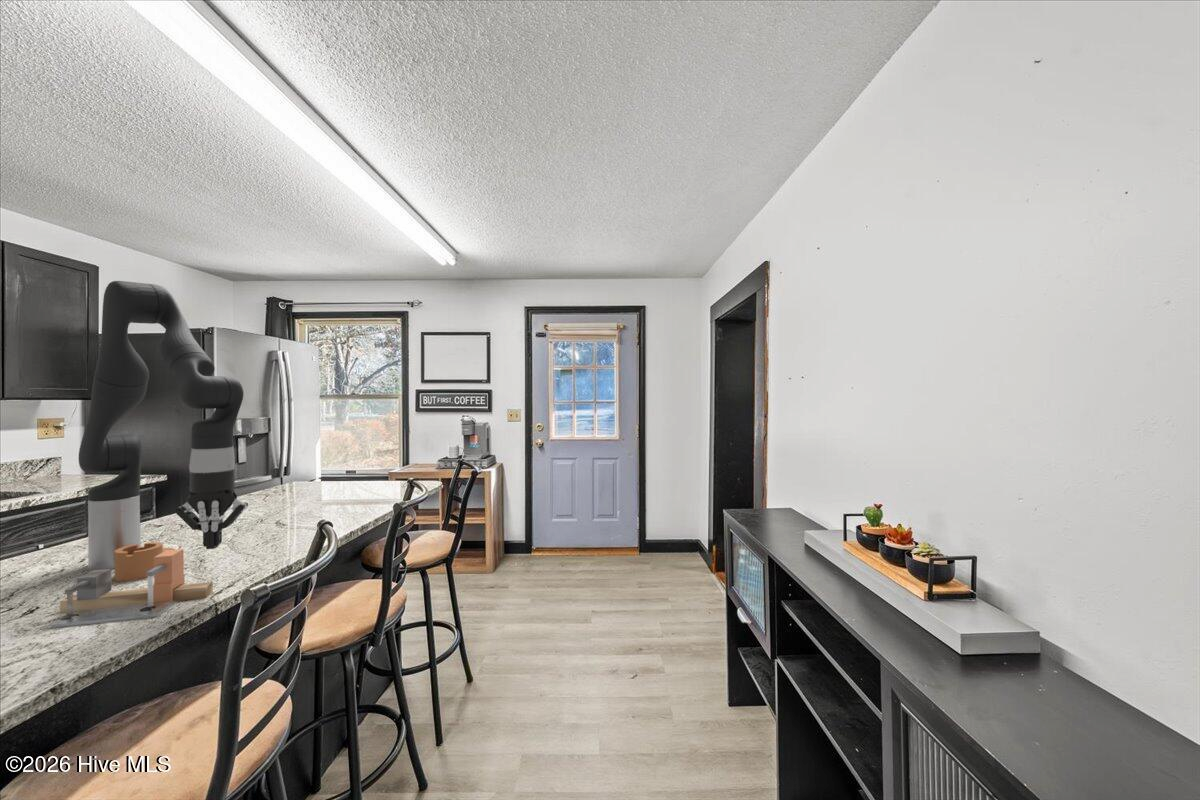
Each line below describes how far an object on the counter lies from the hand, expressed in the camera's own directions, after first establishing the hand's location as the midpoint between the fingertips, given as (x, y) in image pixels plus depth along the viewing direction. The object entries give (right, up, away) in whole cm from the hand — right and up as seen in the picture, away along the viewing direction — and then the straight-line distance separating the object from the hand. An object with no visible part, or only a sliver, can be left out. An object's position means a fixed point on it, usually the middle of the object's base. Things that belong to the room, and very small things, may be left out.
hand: (212, 547), depth 102 cm
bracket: (-29, -11, +16) cm, 35 cm away
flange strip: (-10, -10, -10) cm, 18 cm away
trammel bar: (-11, -10, -6) cm, 16 cm away
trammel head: (-6, -10, -4) cm, 13 cm away
